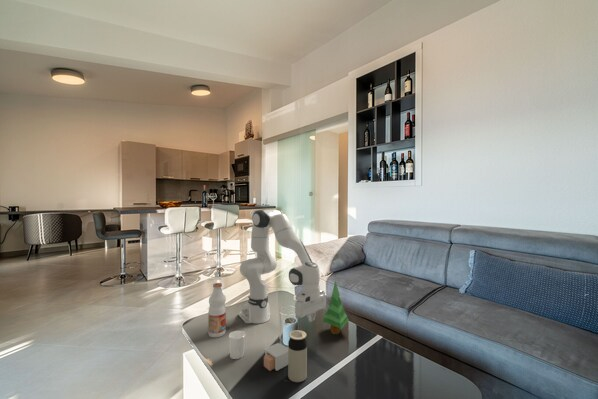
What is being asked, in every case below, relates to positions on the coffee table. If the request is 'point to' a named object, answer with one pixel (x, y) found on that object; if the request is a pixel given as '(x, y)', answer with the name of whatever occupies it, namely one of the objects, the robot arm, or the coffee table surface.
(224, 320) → the fruit juice
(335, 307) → the decorative tree
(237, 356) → the white cup
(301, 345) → the travel mug
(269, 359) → the block
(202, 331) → the coffee table surface
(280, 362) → the tunnel
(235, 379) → the coffee table surface
